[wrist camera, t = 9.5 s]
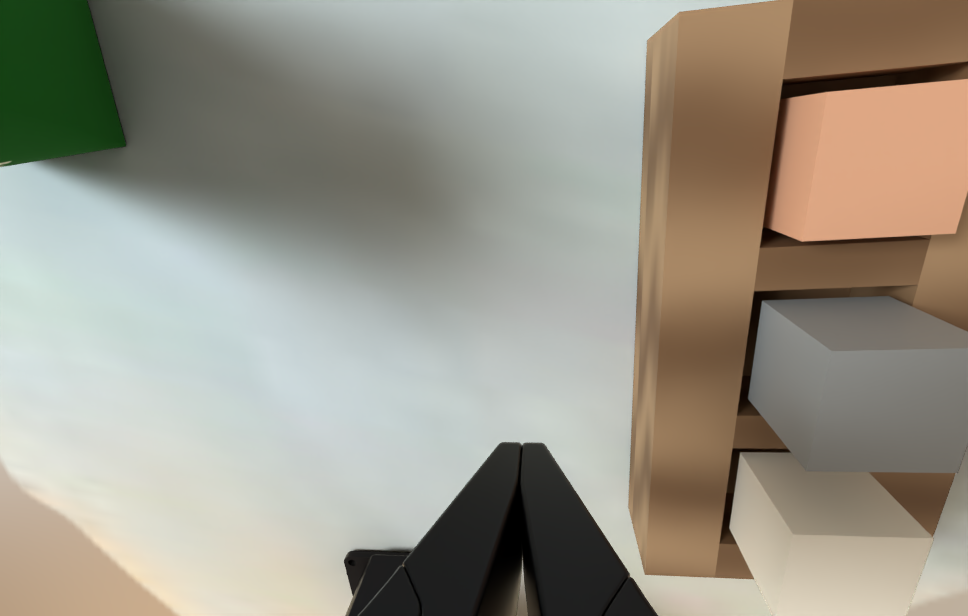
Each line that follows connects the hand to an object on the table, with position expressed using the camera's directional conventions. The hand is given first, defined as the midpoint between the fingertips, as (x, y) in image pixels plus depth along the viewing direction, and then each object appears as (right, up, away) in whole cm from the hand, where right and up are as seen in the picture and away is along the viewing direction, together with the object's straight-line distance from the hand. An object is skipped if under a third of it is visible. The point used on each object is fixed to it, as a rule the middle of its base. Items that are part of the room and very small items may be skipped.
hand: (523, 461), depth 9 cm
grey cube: (+11, +1, +8) cm, 14 cm away
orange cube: (+11, +8, +7) cm, 15 cm away
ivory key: (+12, -5, +10) cm, 16 cm away
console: (+12, +3, +11) cm, 16 cm away
